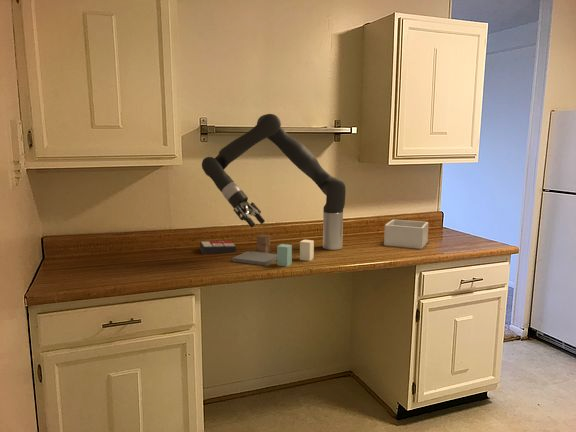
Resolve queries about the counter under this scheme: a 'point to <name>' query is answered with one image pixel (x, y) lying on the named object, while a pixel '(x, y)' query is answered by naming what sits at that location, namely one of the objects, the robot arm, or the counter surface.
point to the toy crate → (406, 234)
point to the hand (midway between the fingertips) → (258, 224)
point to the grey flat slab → (255, 258)
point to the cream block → (306, 250)
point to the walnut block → (263, 243)
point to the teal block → (284, 255)
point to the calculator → (217, 247)
